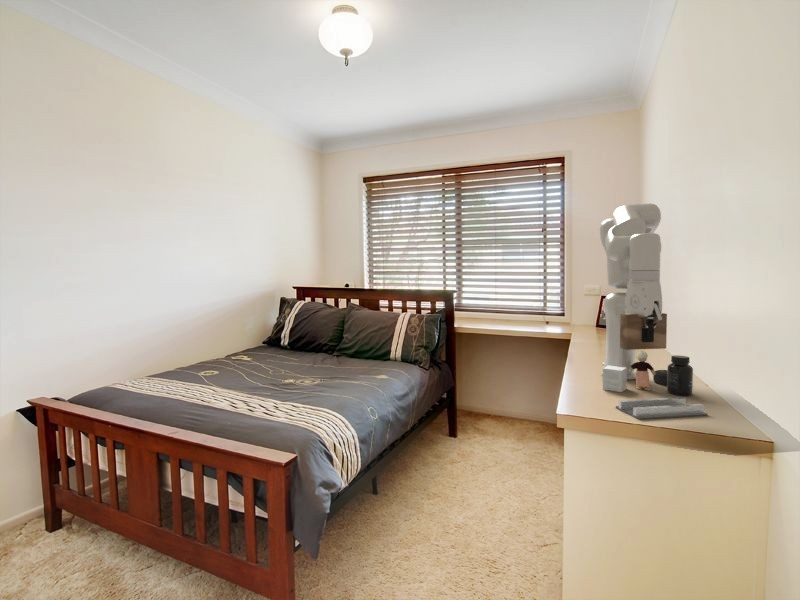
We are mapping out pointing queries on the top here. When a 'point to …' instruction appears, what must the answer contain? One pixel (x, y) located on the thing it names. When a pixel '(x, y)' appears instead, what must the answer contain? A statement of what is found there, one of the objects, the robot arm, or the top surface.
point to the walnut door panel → (633, 332)
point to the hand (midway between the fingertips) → (643, 340)
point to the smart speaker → (660, 377)
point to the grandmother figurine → (642, 371)
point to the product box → (614, 378)
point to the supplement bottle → (680, 376)
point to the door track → (660, 408)
